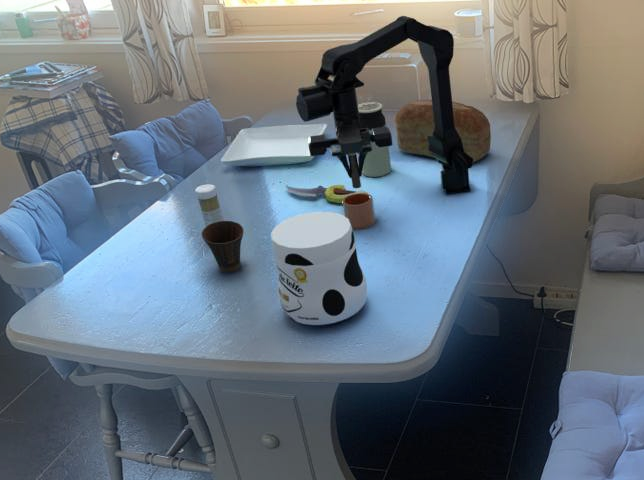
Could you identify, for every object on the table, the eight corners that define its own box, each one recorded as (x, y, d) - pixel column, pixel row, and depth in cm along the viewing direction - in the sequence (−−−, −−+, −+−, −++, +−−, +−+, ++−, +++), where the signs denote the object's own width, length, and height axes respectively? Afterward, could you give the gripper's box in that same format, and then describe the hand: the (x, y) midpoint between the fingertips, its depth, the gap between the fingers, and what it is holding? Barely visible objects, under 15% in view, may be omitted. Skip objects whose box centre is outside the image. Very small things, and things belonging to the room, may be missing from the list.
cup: (233, 283, 164) (221, 242, 158) (204, 274, 168) (191, 234, 162) (261, 265, 170) (251, 224, 164) (232, 256, 174) (221, 217, 168)
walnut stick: (360, 184, 180) (356, 152, 175) (361, 187, 178) (356, 155, 173) (352, 185, 180) (347, 153, 175) (353, 189, 178) (348, 156, 173)
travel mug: (396, 172, 208) (389, 106, 197) (371, 180, 205) (362, 113, 194) (382, 163, 213) (373, 99, 203) (357, 171, 210) (347, 106, 199)
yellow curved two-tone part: (275, 198, 199) (360, 207, 191) (273, 189, 197) (359, 198, 189) (290, 186, 205) (374, 194, 197) (288, 177, 203) (372, 185, 195)
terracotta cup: (373, 213, 188) (370, 191, 184) (376, 226, 182) (373, 203, 178) (344, 217, 187) (341, 195, 183) (346, 230, 181) (343, 207, 177)
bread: (414, 140, 227) (409, 91, 218) (497, 152, 214) (495, 101, 206) (391, 154, 219) (385, 104, 210) (476, 168, 206) (473, 115, 198)
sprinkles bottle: (226, 234, 184) (212, 182, 176) (231, 241, 181) (216, 188, 173) (207, 239, 183) (193, 186, 175) (211, 246, 179) (196, 193, 171)
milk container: (267, 327, 149) (246, 245, 139) (310, 283, 162) (294, 205, 151) (345, 340, 144) (330, 256, 133) (383, 293, 156) (372, 213, 146)
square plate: (317, 167, 215) (314, 154, 212) (222, 173, 216) (218, 160, 214) (329, 133, 236) (327, 121, 234) (243, 139, 238) (240, 127, 235)
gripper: (304, 127, 161) (316, 195, 170) (391, 116, 163) (399, 184, 172) (303, 111, 170) (315, 177, 179) (385, 100, 172) (393, 166, 181)
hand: (355, 176), depth 177 cm, fingers closed on walnut stick, 2 cm apart
